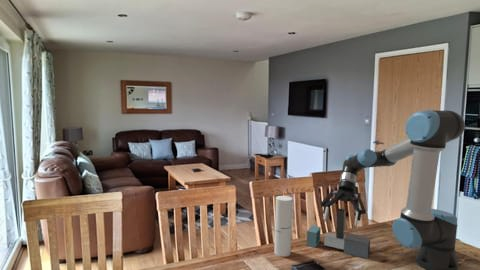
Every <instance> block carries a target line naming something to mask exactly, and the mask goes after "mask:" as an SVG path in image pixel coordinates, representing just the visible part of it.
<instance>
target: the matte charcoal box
mask: <svg viewBox="0 0 480 270" xmlns="http://www.w3.org/2000/svg"><path fill="white" fill-rule="evenodd" d="M344 236H345V238H344V250H343V254H345V255H349V256H352V257H353V256H354V257H357V258H358V257H359V258H363V259H367V260H368V259H369V255H370V253H371V252H370V248H371V237H370V236H366V235H365V236H364V235H359V234H355V233H351V232H350V233H349V232H347V233H346V235H344Z"/></svg>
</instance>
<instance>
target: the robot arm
mask: <svg viewBox="0 0 480 270" xmlns="http://www.w3.org/2000/svg"><path fill="white" fill-rule="evenodd" d="M464 120H465V119H464V118H463V117H462V115H460V114H459V113H458V112H456V111H452V110H447V109H446V110H435V109H433V110H431V109H429V110H428V109H426V110H419V111H416V112H414V113H412V115H410V116H409V117H408V118H407V120H406V123H405V129H404V130H405V134H406V136H407V137H406V138H404V139H402V140H401V141H399V142H396V143H394V144H393V145H391V146H388V147H387V148H385V149H383V150H378V151H374V150H372V149H370V148H366V149H363V150H361V151H359V152H358V153H357V154H350V155H346V156H345V158H344V160H343V165H342V169H341V175H340V177H339V178H340V179H339V184H338V188H337V190H334V189H333V188H331V189H330V192H329V193H328V194H326V196H325V197H324V198H323V200H322V201H321V202H320V206H321V207H322V208H323V209H322V213H323V221H324V223H325V222H327V218H328V215H329V208H330V207H332V206H333V205H334V204H335V203H337V202H339V201H341V202H347V203H348V202H349V203H350V204H351V205H352V206H353V208H354V209H355V211H356V213H355V217H354V218H355V219H354V224H353V226H354V228H355V229H357V228H358V227H357V226H358V221H361V218H362V215H366V214H367V213H366V207H365V205H364V202H363V201H362V197H361V193H360V192H358V193H355V191H356V183H357V180H358V179H357V178H358V175H359V172H361V171H363V170H364V169H366V168H380V167H382V168H383V167H391V166H394V165H395V164H397V162H398V161H401V160H404V159H406V158H407V157H411V156H412V160H411V168H410V176H409V183H408V191H407V197H406V205H405V206H404V207H403V208H402V209H400V216H399V217H400V218H399V217H397V219H395V220H394V221H393V223H392V228H393V229H392V234H393V235H394V237H395V239H396V241H397V242H398V243H399V244H400V245H401V246H403V247H404V248H408V249H418V251H417V253H416V256H415V257H416V258H415V262H416V264H417V265H418V266H419V267H421V268H422V269H424V270H459V268H460V267H459V261H458V258H457V254H456V241H457V240H456V239H457V232H458V231H457V229H458V218H457V216H456V215H455V214H453V213H451V212H448V211H444V210H440V209H435V208H432V206H433V199H434V193H435V186H436V181H437V180H436V179H437V172H438V166H439V159H440V153H441V152H442V151H444V150H445V149H446V146H447V143H449V142H452V141H454V140H456V139H458V138H460V137H461V136H462V135H463V133H464V132H465V129H466V128H465V127H466V124H465V121H464ZM333 196H334V197H333ZM354 198H356V199H357V201H358V204H359V206H360V207H359V206H358V204H357V203H356V201H355V200H354Z"/></svg>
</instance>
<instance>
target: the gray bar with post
mask: <svg viewBox="0 0 480 270" xmlns="http://www.w3.org/2000/svg"><path fill="white" fill-rule="evenodd" d="M345 224H346V209H344V208H338V209H337V211H336V231H335V232H336V233H334V232H333V233H331V232H326V233H325V235H324V240H323V241H324V242H323V244H324V245H323V246H327V247H331V248H335V249H339V250H343V251H344V238H345V236H346V235H345V226H346V225H345Z"/></svg>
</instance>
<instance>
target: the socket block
mask: <svg viewBox="0 0 480 270" xmlns="http://www.w3.org/2000/svg"><path fill="white" fill-rule="evenodd" d="M321 229H322V228H321V226H318V225H313V224H312V225H311V226H310V227H309V228H308V230H306V246H308V247H312V248H316V247H317V246H318V245H319V243H320V242H321V233H322V232H321V231H322V230H321Z"/></svg>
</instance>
